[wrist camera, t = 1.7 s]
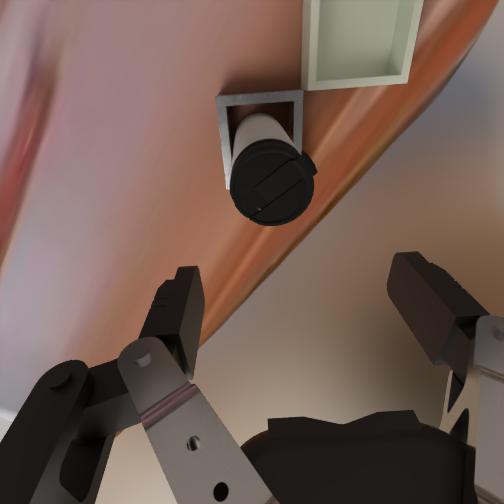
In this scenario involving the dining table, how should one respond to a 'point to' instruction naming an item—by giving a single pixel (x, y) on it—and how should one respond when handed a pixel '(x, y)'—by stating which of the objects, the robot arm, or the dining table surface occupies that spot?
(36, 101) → the dining table surface
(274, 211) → the travel mug
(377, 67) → the tray
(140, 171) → the dining table surface
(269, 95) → the sleeve
